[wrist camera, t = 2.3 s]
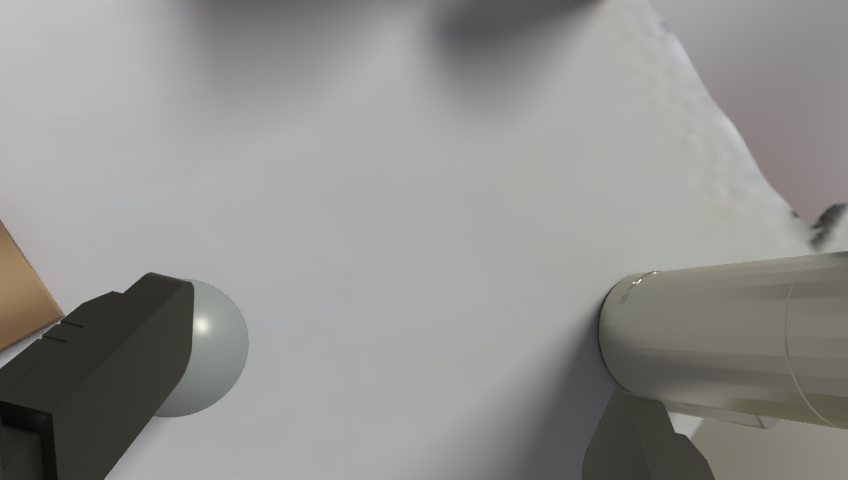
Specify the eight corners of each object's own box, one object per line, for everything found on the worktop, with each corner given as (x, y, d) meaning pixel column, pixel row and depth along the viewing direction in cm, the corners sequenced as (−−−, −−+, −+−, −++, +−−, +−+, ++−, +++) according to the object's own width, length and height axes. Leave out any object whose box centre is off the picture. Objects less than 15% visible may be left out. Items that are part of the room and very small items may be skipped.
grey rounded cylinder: (252, 350, 32) (284, 365, 21) (161, 409, 30) (146, 459, 19) (200, 269, 32) (206, 242, 21) (104, 323, 30) (55, 325, 19)
